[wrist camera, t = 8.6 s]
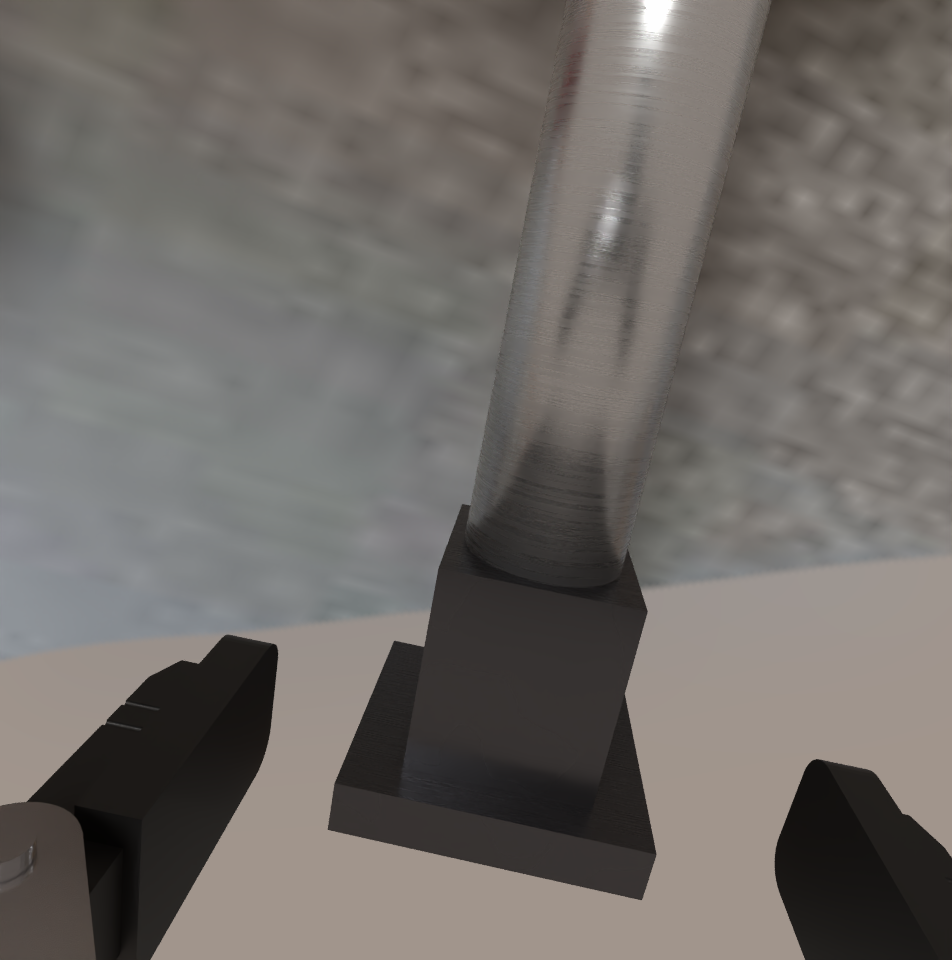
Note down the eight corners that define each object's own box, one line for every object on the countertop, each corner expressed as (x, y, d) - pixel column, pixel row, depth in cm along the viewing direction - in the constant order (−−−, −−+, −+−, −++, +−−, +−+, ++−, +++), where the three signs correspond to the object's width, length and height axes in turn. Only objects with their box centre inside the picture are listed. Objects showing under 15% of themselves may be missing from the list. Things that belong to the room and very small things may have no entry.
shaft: (606, -632, 11) (659, -1389, 6) (978, -581, 10) (1352, -1324, 6) (388, 676, 17) (328, 829, 12) (614, 725, 17) (641, 900, 12)
